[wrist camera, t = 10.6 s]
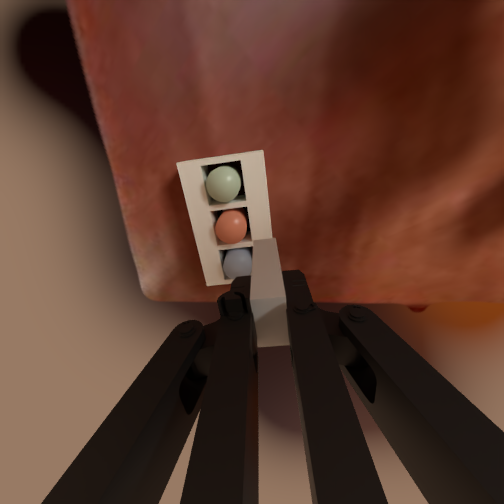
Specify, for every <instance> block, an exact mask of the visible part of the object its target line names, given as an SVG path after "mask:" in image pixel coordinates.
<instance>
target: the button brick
mask: <svg viewBox="0 0 504 504" xmlns="http://www.w3.org/2000/svg"><path fill="white" fill-rule="evenodd" d="M247 220H248V217H247V213H246V211H245V210H244V209H243V208H242V207H239V208H232V209H224V210H223V211H222V213H221V215H220V217H219V219H218V221H217V223H216V226H215V231H216V234H217V236H218V238H219V239H220V240H221V241H223V242H225V243H228V244H235V243H238V242H240V241H241V240H242V239H243V238H244V237H245V235H246V230H247Z"/></svg>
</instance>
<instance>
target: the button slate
mask: <svg viewBox="0 0 504 504" xmlns="http://www.w3.org/2000/svg"><path fill="white" fill-rule="evenodd" d="M223 269H224V272H225V274H226V275H227V276H228V277H230V278H231V279H235V278H236V277H238V276H248V275H250V273H251V271H252V247H251V246H250V247H242V248H233V249H227V253H226V257H225V260H224V264H223Z"/></svg>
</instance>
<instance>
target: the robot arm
mask: <svg viewBox="0 0 504 504" xmlns="http://www.w3.org/2000/svg"><path fill="white" fill-rule="evenodd" d="M217 303H218V306H219V311H220V315H221V318H220V319H219V320H218V321H216V322H214V323H211V324H208V325H205V326H203V325H202V323H201V322H199V321H197V320H189V321H185V322H182V323H181V324H179V325H177V327H175V329H173V331H172V332H171V333H170V335H169V336H168V337H167V339H166V340H165V341H164V343H163V344H162V345H161V346H160V348H159V349H158V350H157V352H156V353H155V354H154V356H153V357H152V358H151V360H150V361H149V362H148V364H147V365H146V366H145V367H144V369H143V370H142V371H141V373H140V374H139V375H138V377H137V378H136V379H135V381H134V382H133V383H132V385H131V386H130V387H129V389H128V390H127V391H126V392H125V394H124V395H123V397H122V398H121V399H120V401H119V402H118V403H117V404H116V406H115V407H114V408H113V410H112V411H111V412H110V414H109V415H108V416H107V418H106V419H105V420H104V421H103V423H102V424H101V425H100V427H99V428H98V429H97V431H96V432H95V433H94V435H93V436H92V437H91V439H90V440H89V441H88V443H87V444H86V445H85V446H84V448H83V449H82V450H81V452H80V453H79V454H78V456H77V457H76V458H75V460H74V461H73V462H72V464H71V465H70V466H69V468H68V469H67V470H66V472H65V473H64V474H63V475H62V477H61V478H60V479H59V481H58V482H57V484H56V485H55V486H54V487H53V489H52V490H51V492H50V493H49V494H48V495H47V497H46V498H45V499H44V500H43V502H42V503H41V504H158V503H159V501H160V499H161V497H162V494H163V492H164V490H165V488H166V485H167V483H168V481H169V479H170V476H171V474H172V472H173V470H174V467H175V465H176V463H177V461H178V458H179V456H180V454H181V451H182V449H183V447H184V445H185V443H186V440H187V438H188V436H189V434H190V431H191V429H192V427H193V424H194V422H195V420H196V418H197V415H198V413H199V411H200V414H199V419H198V424H197V428H196V432H195V437H194V442H193V446H192V451H191V456H190V460H189V465H188V469H187V474H186V479H185V483H184V487H183V492H182V497H181V501H180V504H258V352H257V345H258V347H269V346H280V345H281V346H282V345H290V351H291V362H292V367H293V373H294V379H295V386H296V393H297V400H298V407H299V413H300V421H301V428H302V434H303V441H304V448H305V454H306V462H307V469H308V475H309V482H310V489H311V495H312V502H313V504H388V502H387V499H386V496H385V494H384V491H383V488H382V485H381V482H380V480H379V477H378V474H377V471H376V469H375V465H374V462H373V460H372V457H371V454H370V451H369V448H368V446H367V443H366V440H365V437H364V434H363V432H362V429H361V426H360V423H359V420H358V417H357V415H356V412H355V409H354V407H353V403H352V401H351V398H350V395H349V392H348V389H347V386H346V384H345V381H344V378H343V375H342V372H341V370H342V371H343V373H344V375H345V376H346V378H347V379H348V381H349V382H350V384H351V385H352V387H353V389H354V390H355V392H356V393H357V395H358V396H359V398H360V399H361V401H362V402H363V404H364V405H365V407H366V408H367V410H368V412H369V413H370V415H371V416H372V417H373V419H374V421H375V422H376V424H377V425H378V427H379V428H380V430H381V431H382V433H383V434H384V436H385V437H386V439H387V441H388V442H389V444H390V445H391V446H392V448H393V450H394V451H395V453H396V454H397V456H398V457H399V459H400V460H401V462H402V463H403V465H404V466H405V468H406V470H407V471H408V473H409V474H410V476H411V477H412V479H413V480H414V482H415V483H416V485H417V486H418V488H419V489H420V491H421V493H422V494H423V496H424V497H425V499H426V500H427V502H428V503H429V504H504V432H503V431H502V430H501V429H500V428H499V427H497V426H496V425H495V424H494V423H493V422H492V421H491V420H490V419H489V418H488V417H486V416H485V415H484V414H483V413H482V412H481V411H480V410H479V409H478V408H477V407H476V406H475V405H474V404H472V403H471V402H470V401H469V400H468V399H467V398H466V397H465V396H464V395H463V394H462V393H461V392H459V391H458V390H457V389H456V388H455V387H454V386H453V385H452V384H451V383H450V382H449V381H447V380H446V379H445V378H444V377H443V376H442V375H441V374H440V373H439V372H437V370H435V369H434V368H433V367H432V366H431V365H430V364H429V363H428V362H427V361H426V360H425V359H423V358H422V357H421V356H420V355H419V354H418V353H417V352H416V351H415V350H414V349H413V348H411V347H410V346H409V345H408V344H407V343H406V342H405V341H404V340H403V339H402V338H401V337H400V336H399V335H397V334H396V333H395V332H394V331H393V330H392V329H391V328H390V327H389V326H388V325H386V324H385V323H384V322H383V321H382V320H381V319H380V318H379V317H378V316H377V315H376V314H374V313H373V312H372V311H371V310H369V309H368V308H366V307H363V306H359V305H347V306H345V307H343V308H342V309H341V310H340V311H339V313H333V312H328V311H324V310H321V309H320V308H318V306H317V305H316V303H314V302H313V299H312V296H311V293H310V291H309V288H308V285H307V282H306V279H305V276H304V274H303V273H302V272H301V271H300V270H290V271H281V266H280V260H279V254H278V249H277V243H276V238H269V239H260V240H253V255H252V272H251V275H248V276H238V277H236V278H235V279H234V280H233V281H232V284H231V289H230V291H228V292H226V293H224V294H222V295H221V296H220V297H219V298H218V300H217ZM340 369H341V370H340Z"/></svg>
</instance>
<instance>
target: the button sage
mask: <svg viewBox="0 0 504 504" xmlns="http://www.w3.org/2000/svg"><path fill="white" fill-rule="evenodd" d="M241 184H242V176H241V173H240V171H239V170H238V169H237V168H236V167H235V166H233V165H229V164H225V165H221V166H220V167H218V168H216V169H214V170H213V171H212V172H211V173H210V174H209V175H208V177H207V180H206V188H207V191H208V193H209V195H210V196H211V197H212V198H213V199H215V200H216V201H219V202H229V201H231V200H233V199H234V198H235V197H236V196H237V194H238V192H239V190H240V187H241Z"/></svg>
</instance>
